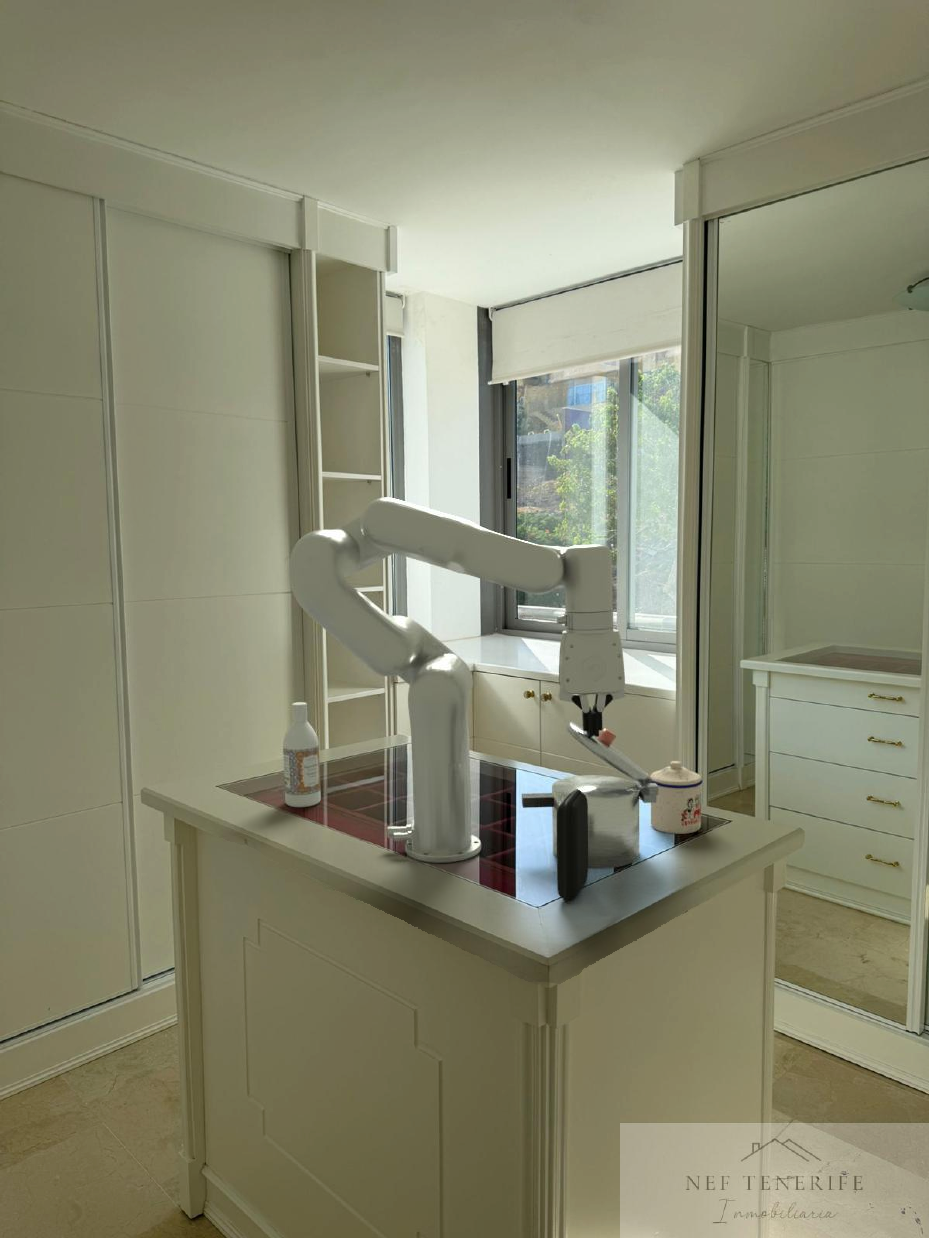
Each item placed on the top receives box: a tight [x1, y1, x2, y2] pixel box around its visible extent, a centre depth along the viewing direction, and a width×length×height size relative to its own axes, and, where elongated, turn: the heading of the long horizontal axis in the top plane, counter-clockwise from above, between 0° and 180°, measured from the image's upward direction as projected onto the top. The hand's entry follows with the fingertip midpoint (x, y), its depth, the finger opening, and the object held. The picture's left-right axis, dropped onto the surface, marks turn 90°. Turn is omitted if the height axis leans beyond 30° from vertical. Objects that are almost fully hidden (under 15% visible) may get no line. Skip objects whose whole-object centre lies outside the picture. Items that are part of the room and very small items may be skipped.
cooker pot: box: [521, 772, 658, 869], centre depth 145 cm, size 21×14×12 cm, turn 91°
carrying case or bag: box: [556, 789, 589, 904], centre depth 129 cm, size 11×3×15 cm, turn 160°
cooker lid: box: [565, 721, 653, 784], centre depth 144 cm, size 16×15×3 cm
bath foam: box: [282, 701, 322, 808], centre depth 176 cm, size 7×7×20 cm
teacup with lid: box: [649, 760, 703, 835], centre depth 158 cm, size 12×9×12 cm
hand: (592, 734), depth 144 cm, fingers closed
